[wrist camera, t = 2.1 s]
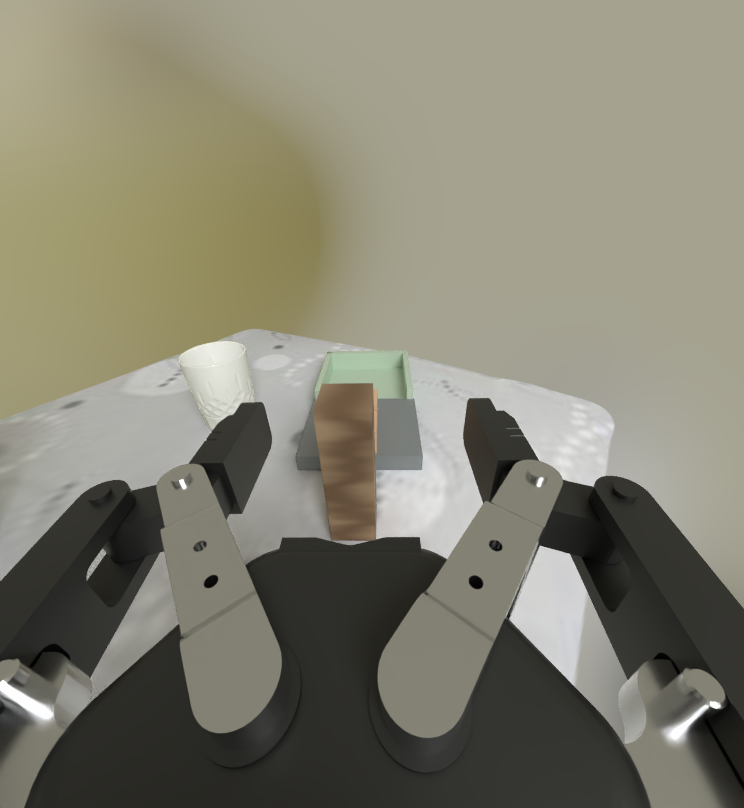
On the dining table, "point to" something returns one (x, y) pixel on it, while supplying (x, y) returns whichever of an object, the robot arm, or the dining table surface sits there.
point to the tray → (369, 371)
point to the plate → (393, 438)
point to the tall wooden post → (348, 458)
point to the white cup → (218, 378)
